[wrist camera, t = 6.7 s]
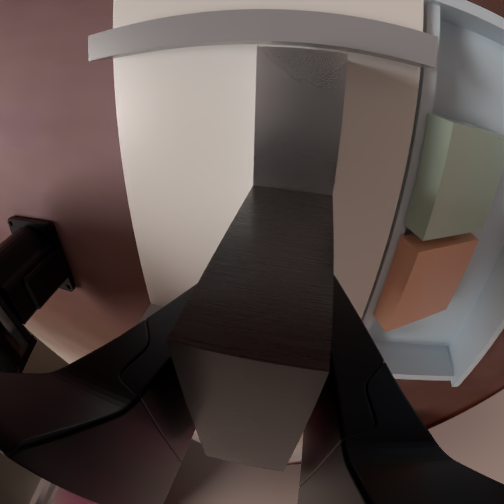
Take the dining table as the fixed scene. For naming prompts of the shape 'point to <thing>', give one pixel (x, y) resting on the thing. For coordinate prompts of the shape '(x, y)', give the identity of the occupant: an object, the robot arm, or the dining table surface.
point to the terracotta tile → (423, 278)
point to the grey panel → (270, 273)
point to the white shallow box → (243, 122)
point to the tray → (490, 238)
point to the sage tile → (454, 179)
